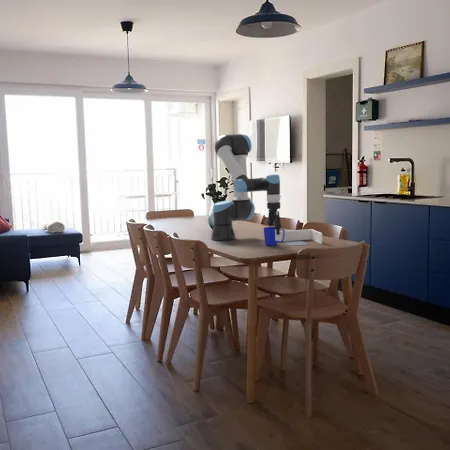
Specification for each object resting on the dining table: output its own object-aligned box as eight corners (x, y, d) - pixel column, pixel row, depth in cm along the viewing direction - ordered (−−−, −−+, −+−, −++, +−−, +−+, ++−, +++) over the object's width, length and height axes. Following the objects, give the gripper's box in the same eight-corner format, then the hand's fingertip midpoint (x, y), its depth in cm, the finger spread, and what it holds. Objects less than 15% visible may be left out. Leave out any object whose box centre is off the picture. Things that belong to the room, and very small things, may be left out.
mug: (284, 246, 298) (284, 228, 297) (263, 246, 301) (262, 229, 299) (285, 243, 306) (285, 226, 305) (264, 243, 309) (264, 226, 307)
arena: (280, 246, 299) (279, 235, 299) (272, 241, 316) (271, 231, 315) (322, 243, 304) (322, 233, 303) (312, 238, 320) (312, 229, 320)
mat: (289, 245, 299) (289, 245, 299) (282, 241, 314) (282, 241, 314) (308, 244, 301) (308, 244, 301) (300, 240, 316) (300, 240, 316)
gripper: (286, 203, 289) (287, 241, 291) (274, 200, 313) (275, 235, 316) (273, 203, 287) (274, 242, 290) (261, 200, 312) (262, 236, 314)
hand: (274, 238), depth 303 cm, fingers open, 13 cm apart
